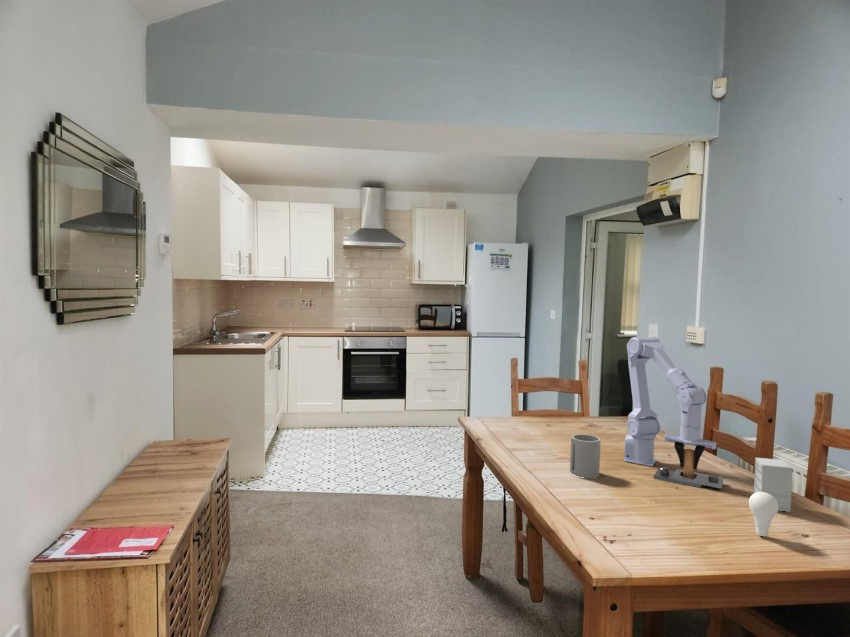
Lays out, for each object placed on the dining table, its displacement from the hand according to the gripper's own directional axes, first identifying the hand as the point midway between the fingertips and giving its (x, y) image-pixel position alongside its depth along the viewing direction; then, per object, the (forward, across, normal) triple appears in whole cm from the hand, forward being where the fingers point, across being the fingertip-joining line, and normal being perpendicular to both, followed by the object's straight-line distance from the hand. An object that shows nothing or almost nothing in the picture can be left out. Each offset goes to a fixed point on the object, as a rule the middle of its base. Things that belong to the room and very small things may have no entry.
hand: (688, 467), depth 166 cm
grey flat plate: (+4, 0, 0) cm, 4 cm away
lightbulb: (+5, +20, -32) cm, 38 cm away
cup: (+5, -29, -13) cm, 32 cm away
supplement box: (+5, +22, -8) cm, 24 cm away
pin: (+3, 0, 0) cm, 3 cm away
